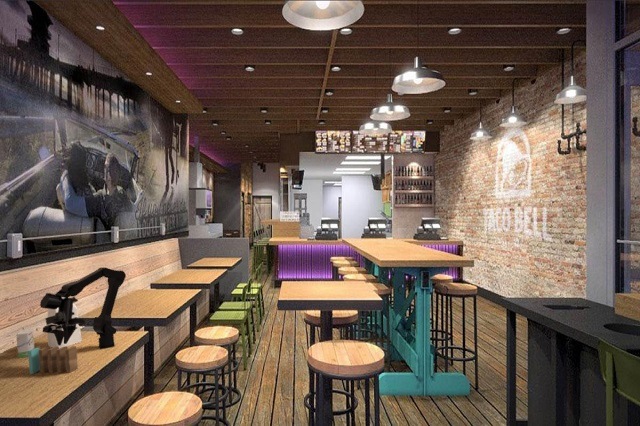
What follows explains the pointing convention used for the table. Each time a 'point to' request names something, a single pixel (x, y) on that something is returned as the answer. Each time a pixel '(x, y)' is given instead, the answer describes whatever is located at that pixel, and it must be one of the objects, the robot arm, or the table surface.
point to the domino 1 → (34, 360)
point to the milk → (74, 337)
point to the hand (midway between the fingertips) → (62, 344)
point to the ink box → (25, 342)
